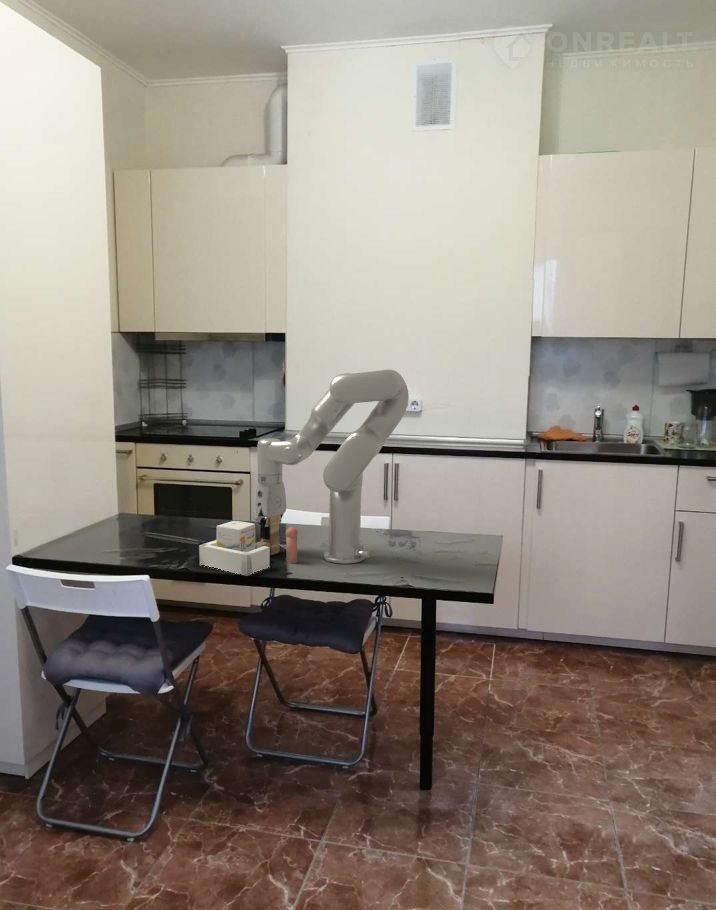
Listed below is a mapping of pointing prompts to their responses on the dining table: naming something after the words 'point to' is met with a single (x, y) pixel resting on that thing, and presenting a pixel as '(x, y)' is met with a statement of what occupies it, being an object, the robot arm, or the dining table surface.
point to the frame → (234, 558)
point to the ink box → (236, 536)
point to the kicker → (271, 536)
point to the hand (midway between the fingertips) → (270, 536)
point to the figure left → (291, 545)
